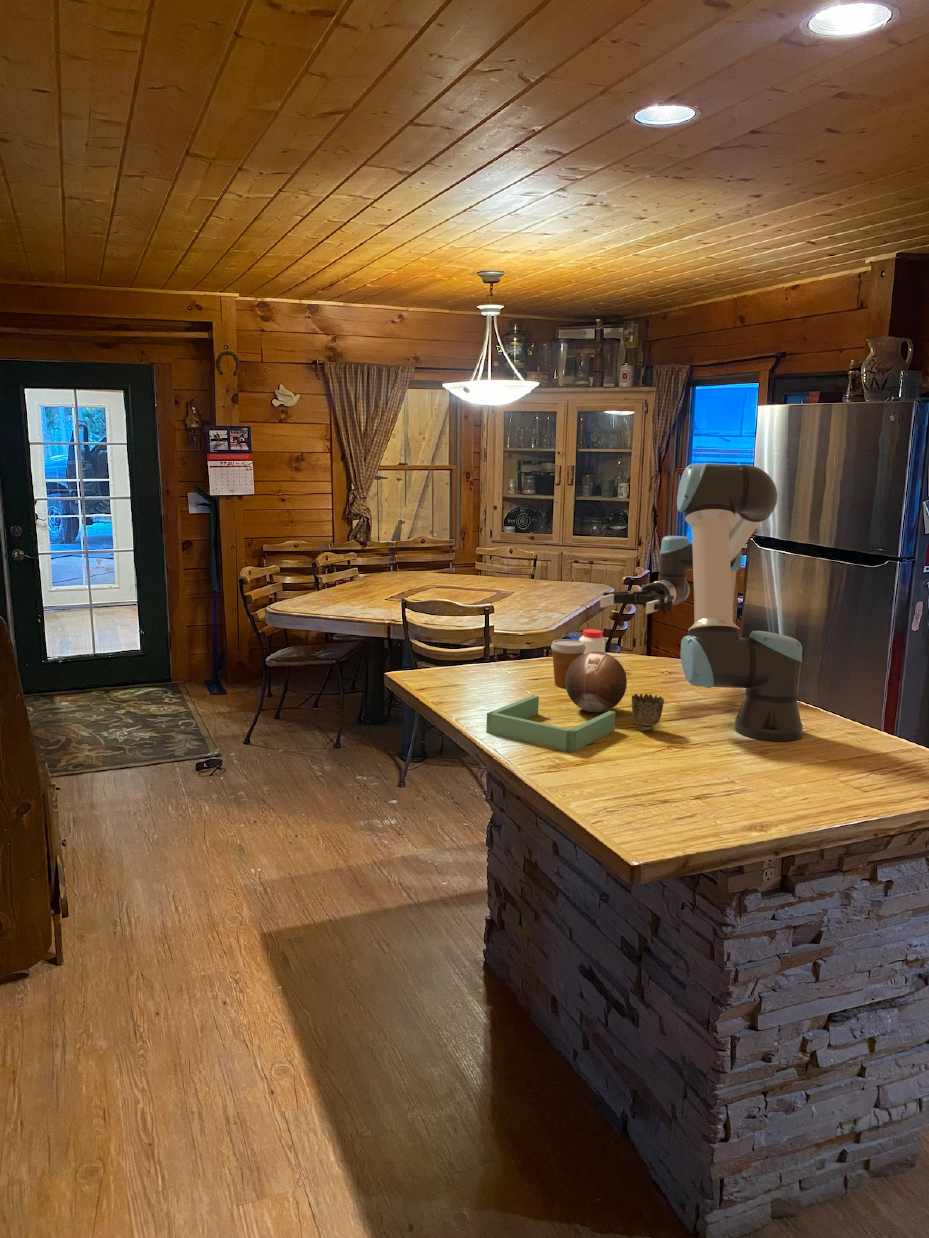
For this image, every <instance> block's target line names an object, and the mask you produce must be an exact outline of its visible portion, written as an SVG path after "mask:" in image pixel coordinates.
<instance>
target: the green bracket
mask: <svg viewBox="0 0 929 1238" xmlns="http://www.w3.org/2000/svg"><path fill="white" fill-rule="evenodd" d="M539 697H540V696H539V695H530V696H527V697H524V698H523V699H520V700H517V701H515V702H513V703H510V704H507V705H504V706H502V707H499V708H496V709H493V710H492V711H489V712H487V713H486V731H485V732H486V734H487V733H488V734H492V735H496V736H501V737H505V738H508V739H509V738H510V739H513V740H517V741H521V742H526V743H530V744H534V745H538V746H541V747H542V746H544V747H547V748H551V749H555V750H559V751H562V752H563V751H564V752H568V753H574V752H576V751H578V750H580V749H582V748H584V747H586V746H588V745H590V744H592V743H593V742H595V741H597V740H599V739H601V738H603V737H605V736H607V735H609V734H611V733H613V732H614V731H615V728H616V713H617V711H612V710H607V711H605V712H604V713H602V714H599V715H597V716H596V717H593V718H591V719H589V720H587V721H585V722H583V723H580V724H579V725H576V726H574V727H572V728H571V729H570V728H565V727H562V726H556V725H552V724H548V723H543V722H539V721H535V720H534V721H533V720H530V718H532V717H534V716H537V715H539V701H540V700H539V699H540V698H539Z"/></svg>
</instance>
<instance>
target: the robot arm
mask: <svg viewBox="0 0 929 1238" xmlns="http://www.w3.org/2000/svg"><path fill="white" fill-rule="evenodd" d="M777 502H778V490H777V486H776V483H775V482H774V480H773V478H772V477H771V476H770V475H769V474H768V473H767V472H766V471H764V470H763V469H761V468H760V467H757V466H755V465H750V464H726V463H725V464H724V463H723V464H722V463H721V464H720V463H707V462H704V463H690V464H688V466H686V467H685V469H684V471H683V472H682V475H681V478H680V481H679V485H678V490H677V496H676V507H677V511H678V512H680V513H684V517H685V518H684V519H685V520H684V521H685V523H687V524H688V525H690V526H691V542H690V539H689V537H688V536H681V535H665V536H664V537H662V540H661V544H660V551H659V553H660V554H659V572H658V580H657V581H654V582H651V583H648V584H647V583H646V584H645V585H644V586H643V587H642V588H641V589H640V590H639V591H638V590H636V591H634V590H633V591H631V590H630V589H629V590H624V591H623V590H622V591H621V590H620V591H612V592H611V591H610V592H608V591H607V592H603V595H602V596H600V602H599V607H600V608H606V607H612V606H613V605H615V604H631V605H633V606H635V605H638V606H639V605H640V606H642V607H644V608H645V614H648V615H649V614H652V613H655V612H658V611H665V609H666V611H668V612H672V610H673V606H675V605H679V604H681V603H682V602H684V601H685V600H686V599H687V598H688V597H689V595H690V592H691V588H690V585H689V583H688V581H687V571H693V572H692V573H693V574H692V576H693V577H692V578H693V612H694V613H693V615H694V619H693V620H694V622H693V624H692V625H691V626H690V627H689V628H688V632H687V633H688V634H687V635H686V636H685V635H684V636H683V637H682V639H681V641H680V642H681V643H680V652H679V653H680V663H681V668H682V672H683V674H684V677H685V679H686V680H687V682H688V683H689V684H690V685H691V686H695V687H702V688H703V687H704V688H707V689H711V688H733V689H736V688H737V689H745V691H744V694H745V695H744V698H743V700H742V703H741V705H740V708H739V710H738V713H737V715H736V716H735V719H734V726H733V727H734V730H735V731H736V732H737V733H739V734H741V735H743V736H746V737H749V738H752V739H757V740H763V741H769V742H772V741H773V742H791V741H793V742H794V741H797V740H799V739H801V738H802V737H803V732H804V726H803V723H802V722H801V721H802V720H801V714H800V709H799V705H798V700H799V699H798V698H799V690H800V689H799V687H800V679H801V672H802V663H803V646H802V644H801V642H800V641H799V640H797V639H795V638H794V637H792V636H791V637H790V636H788V635H785V634H781V633H780V634H779V633H776V632H770V631H763V630H752V631H751V632H750V634H749V637H741V632H740V631H741V629H740V628H741V627H739V626H738V625H736V624H735V622H734V621H733V598H732V594H733V593H732V576H731V575H732V574H731V573H732V572H737V571H738V570H739V569H740V568H741V564H742V560H743V553H742V549H743V548H744V546H745V544H746V543H747V542H748V540H749V539H750V538H751V536H752V535H753V534H754V532H755V530H756V529H757V528H758V526H759V525H760V524H761V522H764V521H766V520H767V519H768V518H769V517H771V515H772V514H773V512H774V510H775V508H776V506H777Z"/></svg>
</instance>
